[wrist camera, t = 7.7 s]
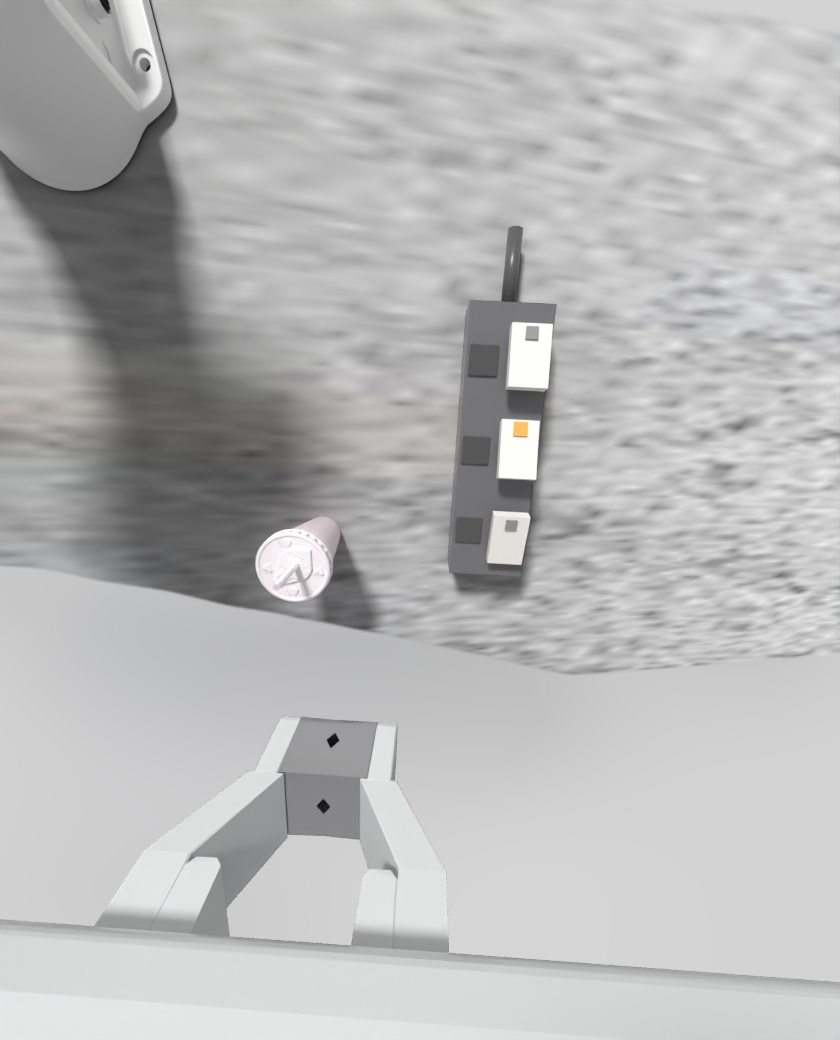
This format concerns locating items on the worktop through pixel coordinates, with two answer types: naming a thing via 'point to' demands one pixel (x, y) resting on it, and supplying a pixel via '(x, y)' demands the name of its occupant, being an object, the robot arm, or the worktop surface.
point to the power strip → (490, 421)
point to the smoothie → (299, 560)
